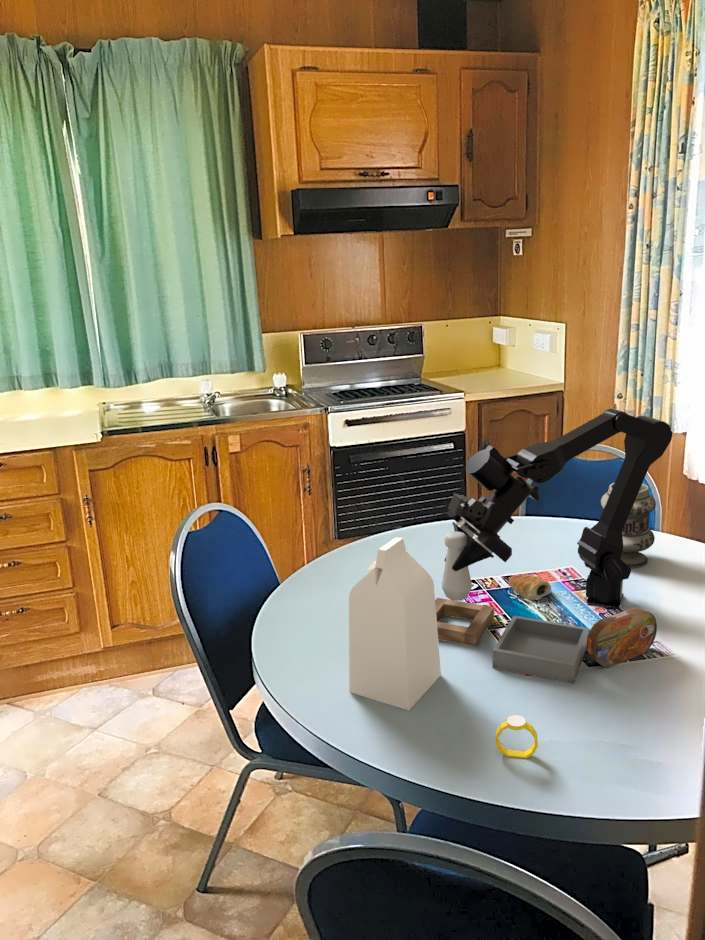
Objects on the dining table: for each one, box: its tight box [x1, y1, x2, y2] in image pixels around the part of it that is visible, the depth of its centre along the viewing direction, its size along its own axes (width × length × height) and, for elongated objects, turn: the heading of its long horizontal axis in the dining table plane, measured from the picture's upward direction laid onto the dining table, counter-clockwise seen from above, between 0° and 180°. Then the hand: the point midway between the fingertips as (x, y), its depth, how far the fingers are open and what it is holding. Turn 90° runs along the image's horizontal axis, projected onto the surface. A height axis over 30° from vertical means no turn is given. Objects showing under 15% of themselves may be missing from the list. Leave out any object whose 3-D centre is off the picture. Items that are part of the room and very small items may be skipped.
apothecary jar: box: [600, 482, 657, 569], centre depth 175 cm, size 12×12×18 cm
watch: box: [495, 715, 539, 759], centre depth 112 cm, size 6×3×6 cm, turn 78°
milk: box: [348, 536, 442, 711], centre depth 129 cm, size 12×12×26 cm
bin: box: [492, 615, 590, 685], centre depth 138 cm, size 14×14×4 cm
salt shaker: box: [441, 531, 473, 602], centre depth 147 cm, size 6×6×13 cm
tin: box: [586, 607, 658, 668], centre depth 136 cm, size 15×3×8 cm, turn 117°
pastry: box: [507, 574, 552, 601], centre depth 164 cm, size 9×7×4 cm
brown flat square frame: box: [435, 597, 495, 647], centre depth 150 cm, size 12×12×2 cm
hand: (449, 566), depth 147 cm, fingers closed on salt shaker, 3 cm apart
